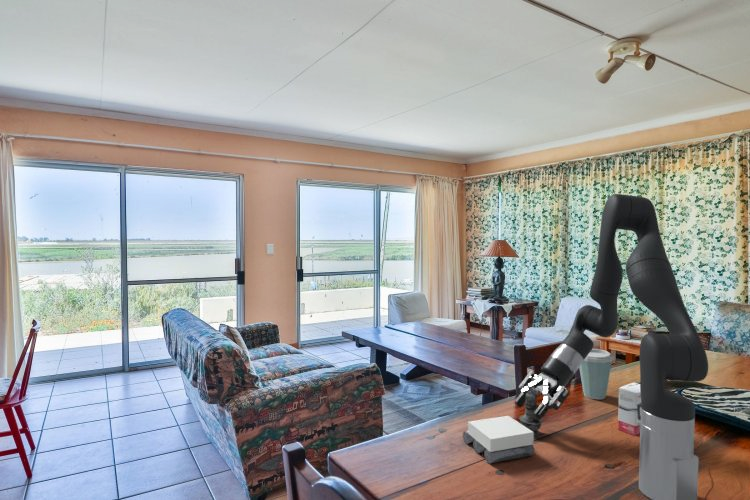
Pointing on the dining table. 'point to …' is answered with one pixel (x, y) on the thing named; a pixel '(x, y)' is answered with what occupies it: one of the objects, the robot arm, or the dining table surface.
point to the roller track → (501, 454)
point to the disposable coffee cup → (596, 373)
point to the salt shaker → (531, 414)
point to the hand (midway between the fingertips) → (526, 411)
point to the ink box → (629, 408)
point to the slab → (500, 433)
